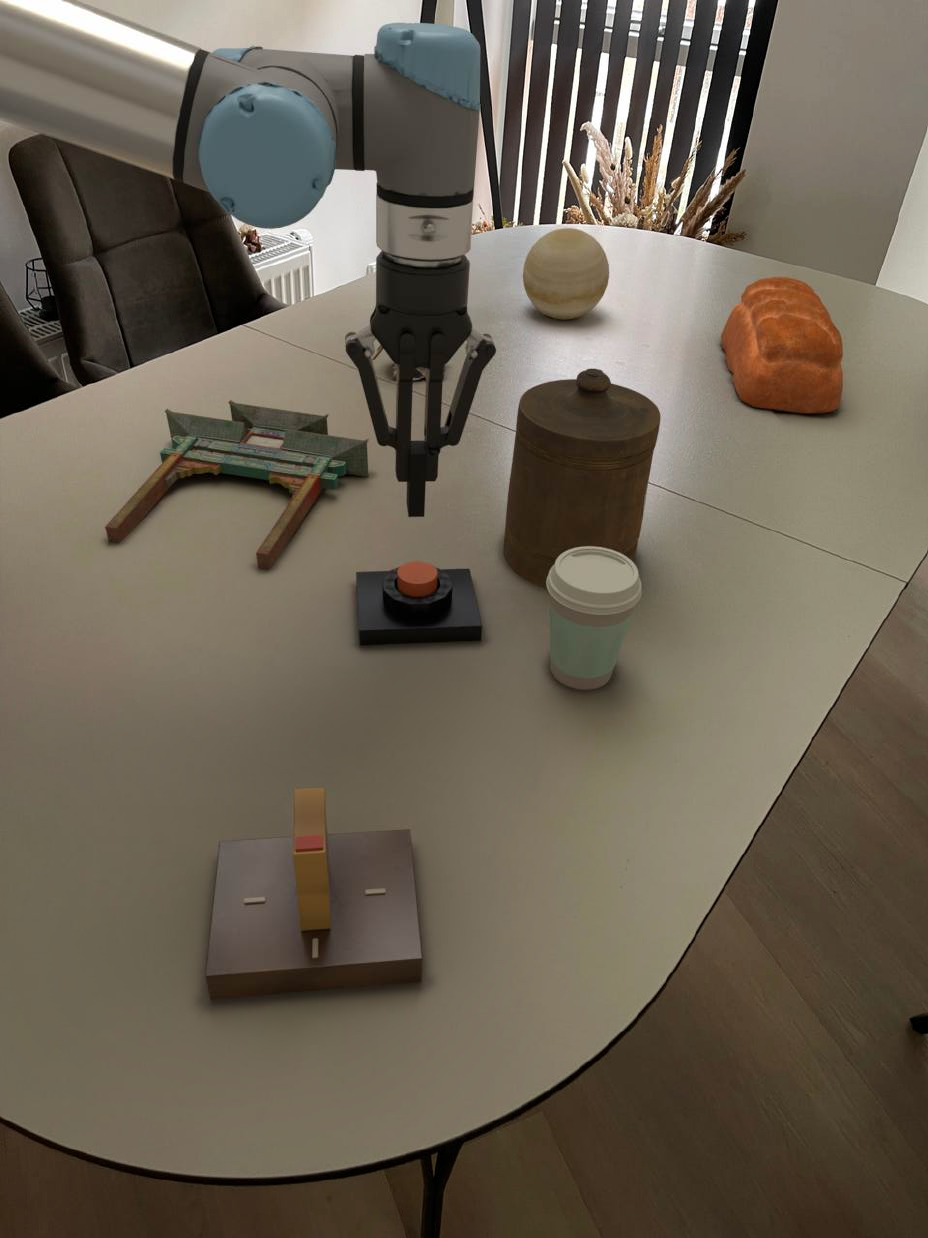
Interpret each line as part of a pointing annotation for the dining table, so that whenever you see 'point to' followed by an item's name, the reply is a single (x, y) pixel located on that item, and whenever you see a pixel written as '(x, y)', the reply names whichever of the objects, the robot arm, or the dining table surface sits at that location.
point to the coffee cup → (589, 613)
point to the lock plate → (314, 959)
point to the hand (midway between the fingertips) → (415, 509)
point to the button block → (417, 610)
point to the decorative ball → (566, 273)
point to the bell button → (417, 579)
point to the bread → (784, 348)
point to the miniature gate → (251, 463)
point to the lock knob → (311, 858)
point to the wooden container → (578, 471)
